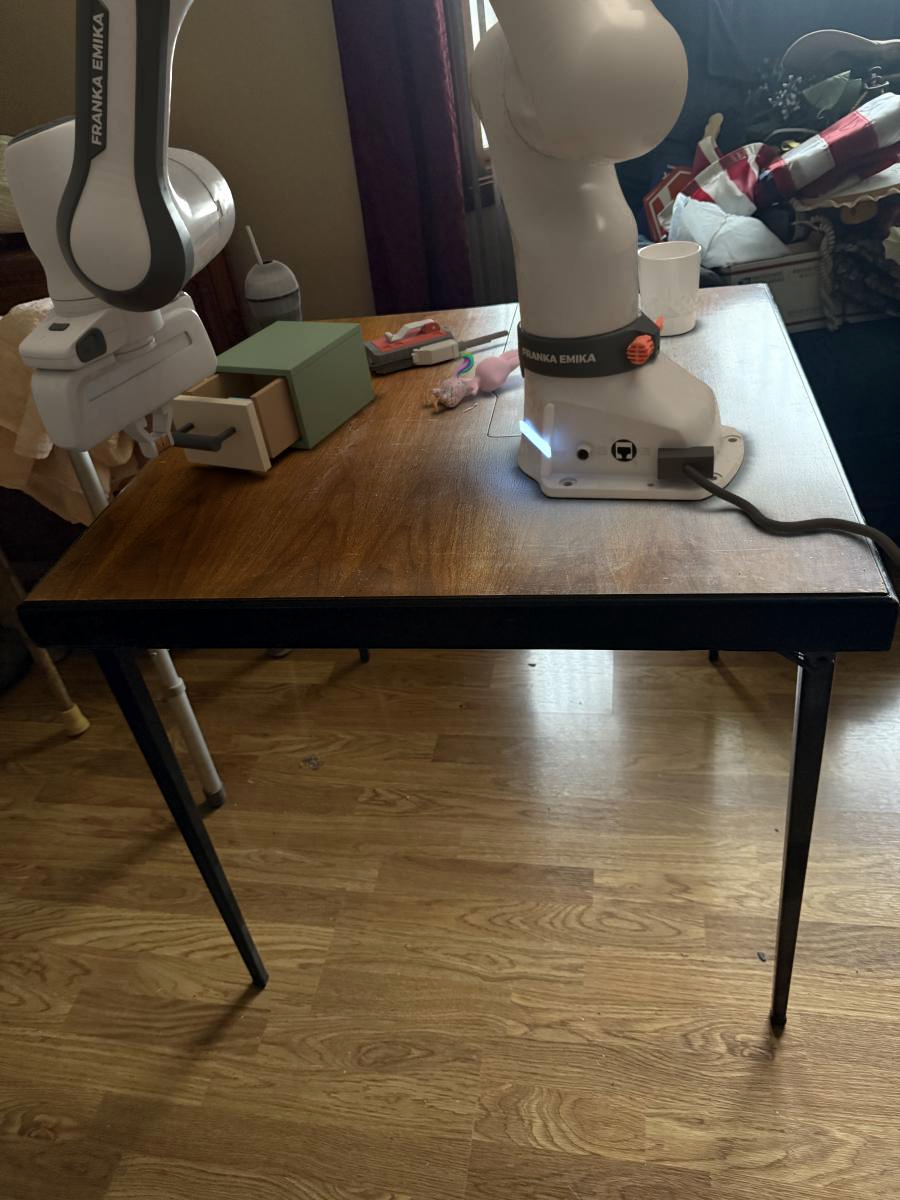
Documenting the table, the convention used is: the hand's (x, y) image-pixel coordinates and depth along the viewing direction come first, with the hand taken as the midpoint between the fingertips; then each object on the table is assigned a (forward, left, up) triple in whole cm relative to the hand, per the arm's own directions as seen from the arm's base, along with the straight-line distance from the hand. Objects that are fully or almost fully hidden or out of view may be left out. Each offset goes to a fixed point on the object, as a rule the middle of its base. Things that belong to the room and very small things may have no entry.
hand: (159, 451), depth 89 cm
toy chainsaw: (-7, -45, -7) cm, 46 cm away
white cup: (-36, -58, -7) cm, 68 cm away
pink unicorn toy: (-20, -34, -7) cm, 40 cm away
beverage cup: (+10, -35, -7) cm, 37 cm away
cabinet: (0, -23, -7) cm, 24 cm away
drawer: (0, -13, -6) cm, 14 cm away
